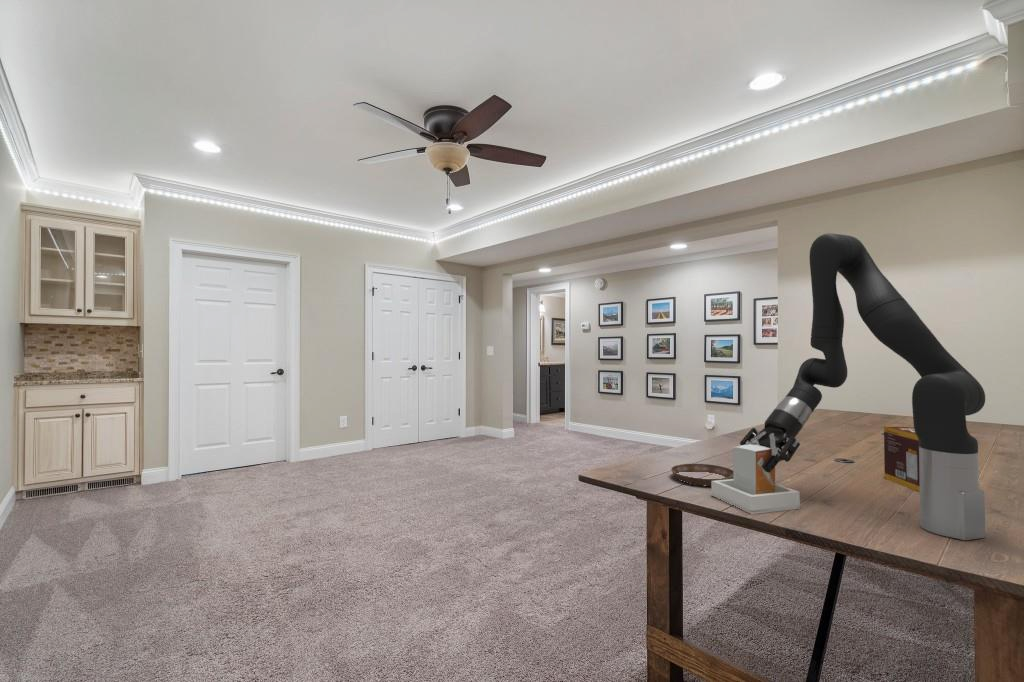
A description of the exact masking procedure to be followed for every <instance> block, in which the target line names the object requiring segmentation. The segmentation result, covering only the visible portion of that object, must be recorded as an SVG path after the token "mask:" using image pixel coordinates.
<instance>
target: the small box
mask: <svg viewBox="0 0 1024 682" xmlns="http://www.w3.org/2000/svg"><path fill="white" fill-rule="evenodd" d="M757 444H758V443H757ZM757 444H749V445H737V446H733V447H732V448H733V450H732V451H733V454H732V455H733V456H732V457H733V463H732V464H733V469H732V470H733V479H734V487H733V488H736V489H738V490H741V491H743V492H746V493H748V494H751V495H757V494H766V493H775V484H776V466H775V467H774V469H773V470H772V471H770V472H769V473H768V472H766V471H765V470H764V469H763V468H762V465H763V464H764V463H765V461H766V460H767V459H768V457H769V456H770V455H771V456H772V449H771V448H768V447H766V446H761V445H759V444H758V445H757Z"/></svg>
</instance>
